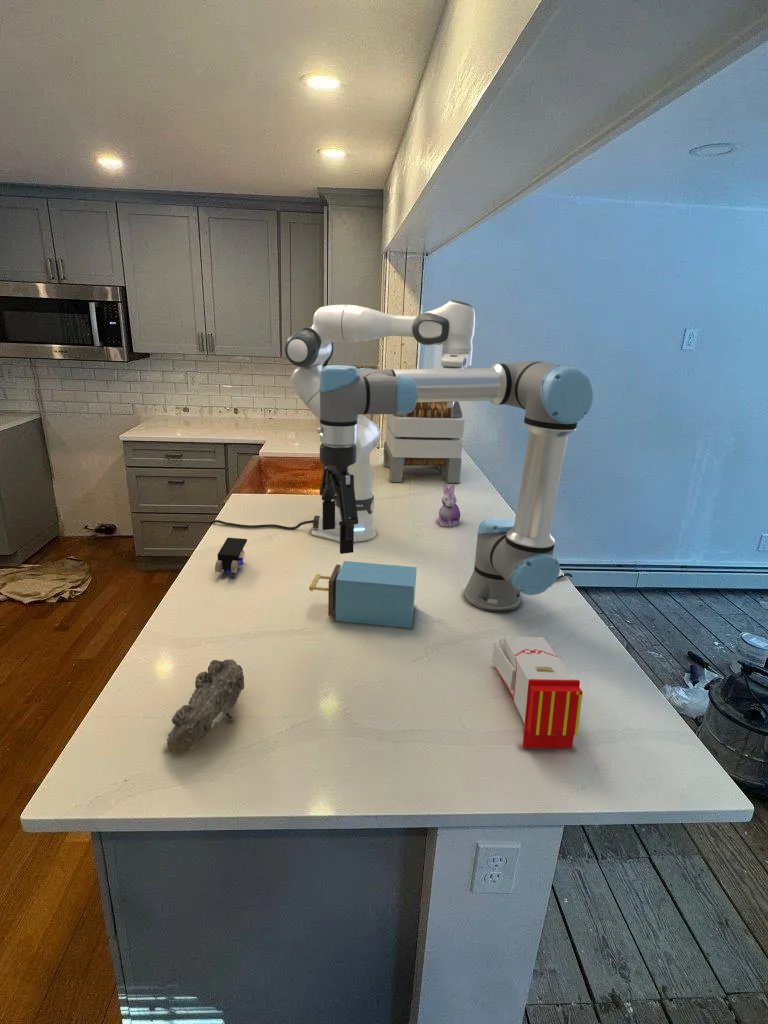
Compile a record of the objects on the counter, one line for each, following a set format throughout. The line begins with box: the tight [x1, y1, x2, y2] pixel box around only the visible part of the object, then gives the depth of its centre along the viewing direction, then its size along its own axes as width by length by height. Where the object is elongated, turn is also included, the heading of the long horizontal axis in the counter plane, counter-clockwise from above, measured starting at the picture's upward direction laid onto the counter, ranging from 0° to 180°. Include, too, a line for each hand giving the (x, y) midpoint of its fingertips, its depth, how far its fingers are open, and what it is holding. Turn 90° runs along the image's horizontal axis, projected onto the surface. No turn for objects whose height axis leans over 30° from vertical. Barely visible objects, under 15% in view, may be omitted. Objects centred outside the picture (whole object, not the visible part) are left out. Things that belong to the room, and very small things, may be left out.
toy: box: [491, 636, 583, 749], centre depth 115 cm, size 12×13×30 cm
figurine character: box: [214, 537, 248, 578], centre depth 166 cm, size 7×8×15 cm
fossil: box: [166, 658, 245, 754], centre depth 106 cm, size 22×10×15 cm
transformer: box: [383, 401, 465, 484], centre depth 268 cm, size 34×33×41 cm
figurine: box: [437, 483, 461, 528], centre depth 209 cm, size 9×10×15 cm
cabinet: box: [335, 560, 418, 629], centre depth 145 cm, size 19×11×12 cm, turn 84°
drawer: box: [308, 564, 342, 617], centre depth 146 cm, size 23×10×10 cm, turn 84°
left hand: (452, 405), depth 174 cm, fingers open, 8 cm apart
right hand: (337, 540), depth 123 cm, fingers open, 13 cm apart
